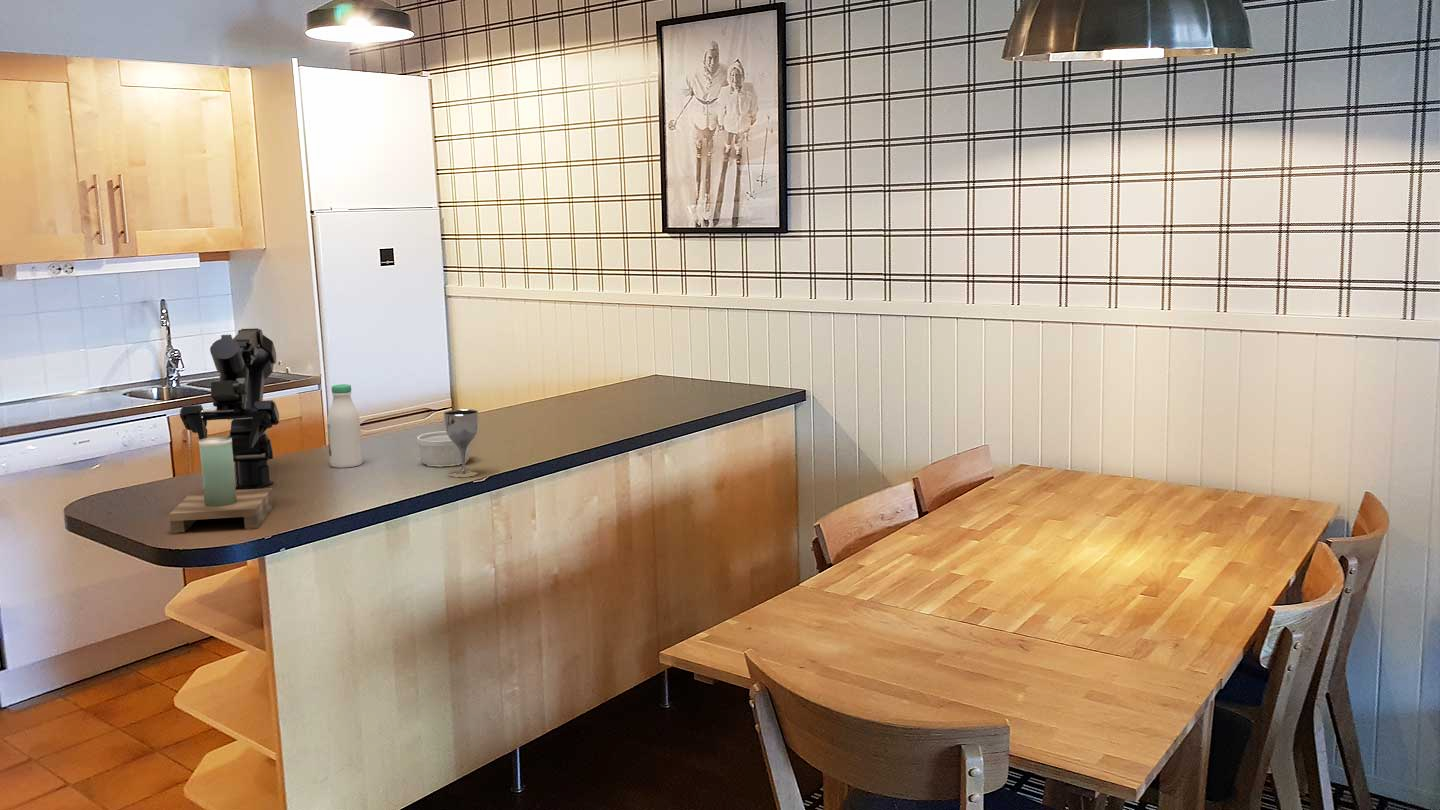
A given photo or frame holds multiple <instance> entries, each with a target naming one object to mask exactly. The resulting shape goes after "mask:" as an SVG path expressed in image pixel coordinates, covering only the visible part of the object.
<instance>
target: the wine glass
mask: <svg viewBox="0 0 1440 810" xmlns="http://www.w3.org/2000/svg"><path fill="white" fill-rule="evenodd" d="M443 420H444V421H443V422H444V428H445V431H446V432H447V435H448V437H449V438H450V439H451V440H452V441H453V442H454V443H455V444H456V446H457V447H458V448H459V450H460V453H461V459H462V465H461V469H459V470H458V472H457V471H454V472H455V473H456V474H466V473H469V472H471V471H472V470H469V469H467V468H466V463H465V455H466V449H467V447H468V445H469V444H470V443H472V441H473V440H474V439H475V437H476V435H477V433H478V429H479V411H478V410H477V409H467V408H466V409H463V408H462V409H461V408H460V409H452V410H446V411H444V412H443Z"/></svg>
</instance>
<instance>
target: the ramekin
mask: <svg viewBox="0 0 1440 810" xmlns="http://www.w3.org/2000/svg"><path fill="white" fill-rule="evenodd" d="M416 441H417V444H418V450H419V456H420V460H421V463H423V465H425V464H427V465H451V464H457V463H462V459H461V453H460V450H459V448H458V447H457V446H456V444H455V443H454V442H453V441H452V440H451V439H450V438H449V437H448V435H447V432H446V430H442V431H432V432H427V433H422V434H420V435H417V438H416ZM471 443H472V442H471ZM471 443H470V444H469V445H468V447H467V449H466V455H465V461H467V460H468V459H470V456H471ZM468 461H469V460H468ZM468 461H467V462H468Z"/></svg>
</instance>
